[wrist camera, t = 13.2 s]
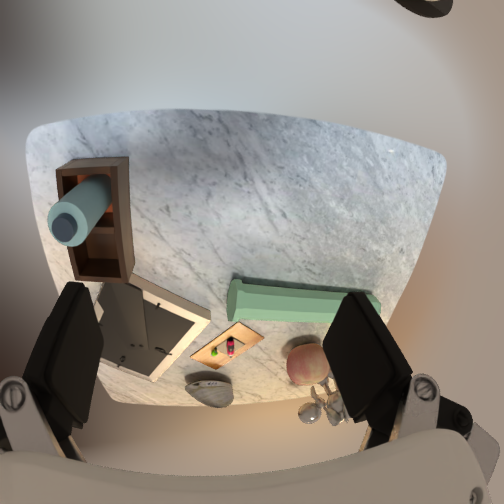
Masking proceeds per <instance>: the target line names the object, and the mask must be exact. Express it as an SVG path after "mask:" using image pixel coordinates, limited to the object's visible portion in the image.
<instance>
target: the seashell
mask: <svg viewBox="0 0 504 504" xmlns="http://www.w3.org/2000/svg"><path fill="white" fill-rule="evenodd" d="M185 390H186V391H187V392H188V393H189V394H190V395H191V396H192V397H194V398H195V399H196V400H198V401H199V402H201V403H203V404H205V405H207V406H210V407H215V408H222V407H227V406H229V405H230V404H231V403H232V401H233V399H234V396H233V391H232V386H231V385H230V384H229V383H225V382H222V381H213V380H208V381H198V382H194V383H192V384H189V385H186V386H185Z"/></svg>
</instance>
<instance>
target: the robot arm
mask: <svg viewBox="0 0 504 504" xmlns="http://www.w3.org/2000/svg"><path fill="white" fill-rule="evenodd" d="M425 1H431V2H432V1H438V0H425ZM322 346H323V351H324V353H325V356H326V358H327V361H328V363H329V366H330V368H331V371H332V373H333V376H334V379H335V381H336V384H337V386H338V389H339V391H340V394H341V397H342V399H343V402H344V405H345V407H346V410H347V413H348V415H349V416H350V417H351V418H353V420H354V423H358V422H362V421H365V420H367V421H368V424H369V425H368V428H367V431H366V434H365V437H364V439H363V441H362V444H361V447H360V449H359V451H358V452H357V453H354V454H351V455H348V456H344V457H340V458H337V459H333V460H329V461H325V462H321V463H317V464H312V465H307V466H302V467H297V468H292V469H286V470H279V471H272V472H265V473H255V474H246V475H231V476H175V475H174V476H173V475H159V474H150V473H140V472H133V471H126V470H120V469H114V468H109V467H103V466H98V465H93V464H89V463H87V462H86V460H85V458H84V457H83V455H82V454H81V452H80V450H79V449H78V447H77V445H76V444H75V442H74V440H73V439H72V437H71V431H72V427H75V428H79V429H82V428H83V423H86V422H87V420H88V416H89V410H90V404H91V399H92V394H93V389H94V384H95V380H96V375H97V371H98V367H99V363H100V359H101V355H102V351H103V347H104V338H103V335H102V332H101V329H100V326H99V323H98V319H97V316H96V313H95V310H94V306H93V303H92V299H91V296H90V292H89V289H88V288H87V287H85V286H84V284H83V283H80V282H70V281H69V282H67V284H66V285H65V287H64V289H63V291H62V293H61V294H60V296H59V298H58V300H57V302H56V304H55V306H54V308H53V310H52V312H51V314H50V316H49V317H48V318H47V320H46V321H45V323H44V326H43V328H42V330H41V332H40V335H39V337H38V339H37V341H36V344H35V346H34V348H33V351H32V353H31V356H30V358H29V361H28V363H27V366H26V369H25V371H24V374H23V377H22V378H19V377H17V376H10V377H7V378H5V379H4V380H2V382H1V383H0V504H492V501H491V497H490V494H489V491H488V487H487V485H488V483H489V481H490V478H491V476H492V473H493V471H494V468H495V466H496V463H497V460H498V457H499V453H500V447H499V444H498V442H497V441H496V440H495V439H494V438H493V437H491V436H490V435H489V434H488V433H487V432H486V431H485V430H484V429H482V428H481V427H480V426H479V425H478V424H477V423H476V422H474V423H473V419H472V415H471V413H470V412H469V410H468V409H467V408H465V407H464V406H461V405H459V404H457V403H455V402H453V401H451V400H449V399H447V398H444V397H443V396H440V389H439V386H438V384H437V383H436V381H435V380H434V379H433V378H432V377H430V376H429V375H426V374H417V375H415V376H414V377H413V378H412V376H411V374H412V373H413V371H412V369H411V367H410V366H409V364H408V362H407V360H406V359H405V357H404V355H403V354H402V352H401V350H400V348H399V347H398V345H397V343H396V342H395V340H394V338H393V337H392V335H391V333H390V332H389V330H388V329H387V327H386V325H385V324H384V322H383V321H382V319H381V317H380V316H379V314H378V313H377V311H376V310H375V308H374V306H373V305H372V303H371V302H370V300H369V299H368V297H367V296H366V294H365V293H364V292H349V293H348V294H347V296H344V298H343V300H342V302H341V304H340V306H339V308H338V311H337V313H336V315H335V317H334V319H333V322H332V324H331V326H330V328H329V330H328V332H327V334H326V336H325V338H324V340H323V344H322Z"/></svg>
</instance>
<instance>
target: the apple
mask: <svg viewBox="0 0 504 504" xmlns="http://www.w3.org/2000/svg"><path fill="white" fill-rule="evenodd" d="M329 369H330V366H329V363H328V361H327V358H326V356H325V353H324V351H323V348H322V347H321V346H320V345H318V344H315V343H311V344H305V345H300V346H298V347H295V348H294V349H293V350H292V351H291V352H290V353H289V355H288V358H287V372H288V375H289V377H290V379H291V380H292V381H293V382H294V383H296V384H299V385H313V384H316V383H319V382H320V381H322V380H324V379H325V378H326V376H327V375H328V373H329Z"/></svg>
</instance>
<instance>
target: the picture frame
mask: <svg viewBox="0 0 504 504" xmlns="http://www.w3.org/2000/svg"><path fill="white" fill-rule="evenodd" d="M94 310H95V313H96V316H97V319H98V323H99V326H100V329H101V332H102V335H103V338H104V347H103V351H102V355H101V359H100V362H102V363H104V364H106V365H109V366H111V367H113V368H116V369H118V370H121V371H123V372H126V373H128V374H131V375H134V376H136V377H139V378H142V379H145V380H147V381H150V382H153V383H154V382H155V381H156V380H157V379H158V378H159V377H160V376H161V375H162V374H163V372H164V371H165V370H166V369H167V368H168V367H169V366H170V365H171V364H172V363H173V362H174V361H175V359H176V358H177V357H178V356H179V355H180V354H181V353H182V352H183V351H184V350H185V349H186V348H187V346H188V345H189V344H190V343H191V342H192V341H193V340H194V339H195V338H196V337H197V336H198V334H199V333H200V332H201V331H202V330H203V329H204V328H205V327H206V326H207V325H208V323H209V322H210V321H211V313H210V311H209V310H207V309H205V308H203V307H200V306H198V305H196V304H194V303H192V302H190V301H188V300H185V299H183V298H181V297H179V296H177V295H175V294H173V293H171V292H169V291H167V290H165V289H163V288H161V287H159V286H157V285H155V284H153V283H151V282H149V281H147V280H145V279H143V278H141V277H139V276H137V275H135V274H133V273H132V274H131V277H130V280H129V283H128V284H127V283H107V282H104V284H103V286H102V289H101V291H100V293H99V296H98V298H97V300H96V303H95V305H94Z"/></svg>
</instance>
